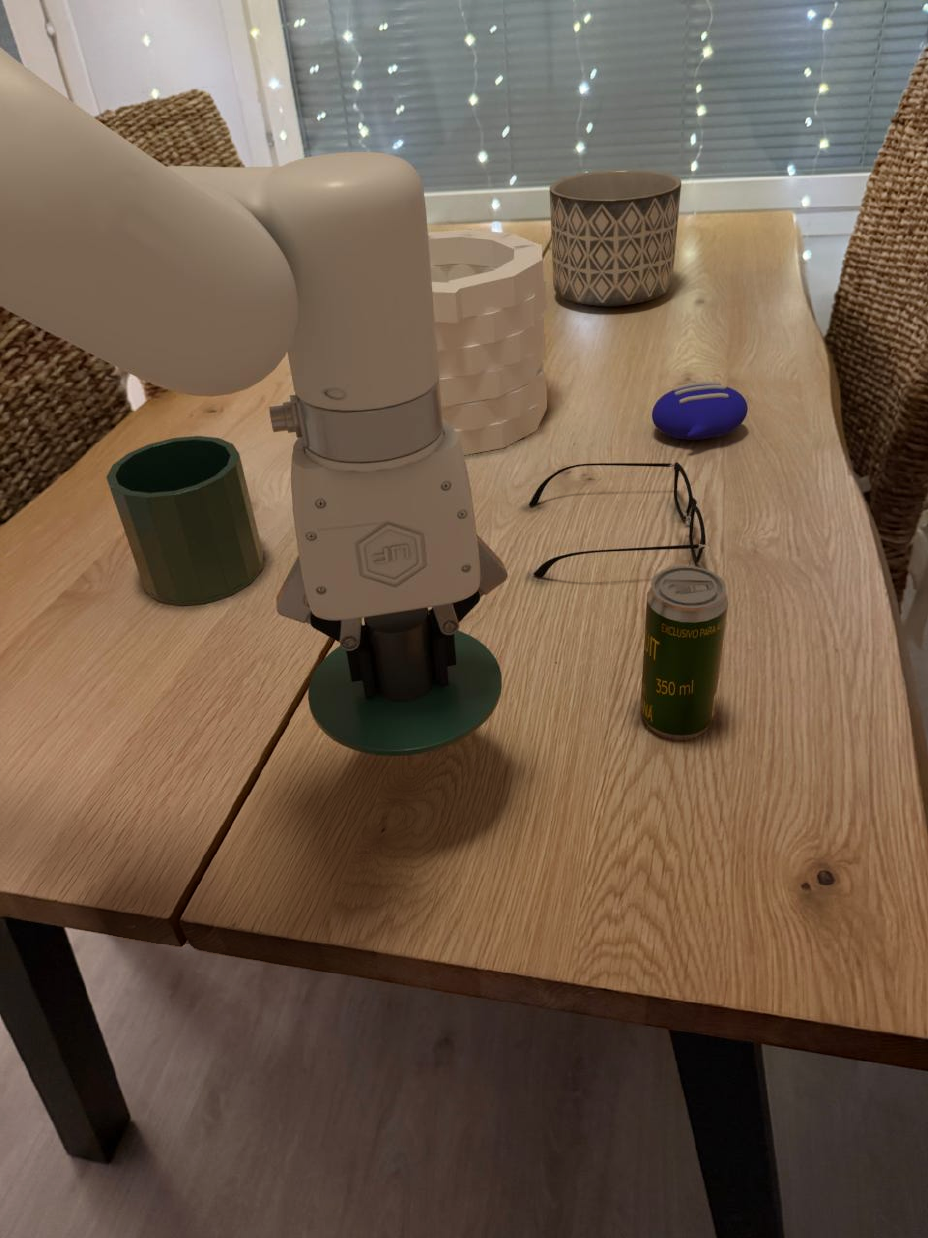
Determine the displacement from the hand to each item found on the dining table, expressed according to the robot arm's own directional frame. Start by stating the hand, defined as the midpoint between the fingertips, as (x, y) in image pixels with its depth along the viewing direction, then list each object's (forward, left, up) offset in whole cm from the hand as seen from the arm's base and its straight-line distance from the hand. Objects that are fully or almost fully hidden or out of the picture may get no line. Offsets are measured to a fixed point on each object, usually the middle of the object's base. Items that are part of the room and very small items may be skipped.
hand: (404, 676), depth 60 cm
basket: (-19, +58, -10) cm, 62 cm away
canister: (-31, +20, -10) cm, 38 cm away
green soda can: (+16, +11, -10) cm, 22 cm away
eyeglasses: (+6, +35, -10) cm, 37 cm away
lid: (0, 0, -1) cm, 1 cm away
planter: (-9, +105, -10) cm, 106 cm away
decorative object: (+11, +58, -10) cm, 60 cm away
